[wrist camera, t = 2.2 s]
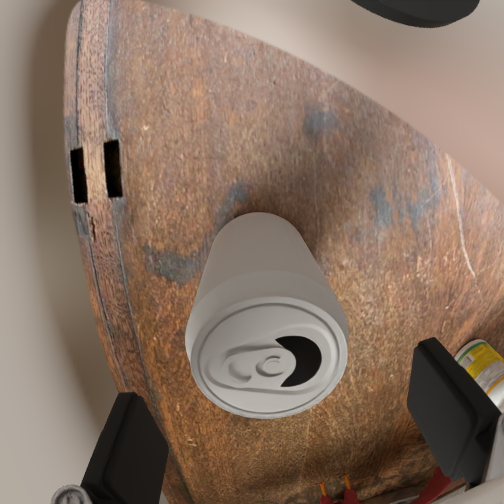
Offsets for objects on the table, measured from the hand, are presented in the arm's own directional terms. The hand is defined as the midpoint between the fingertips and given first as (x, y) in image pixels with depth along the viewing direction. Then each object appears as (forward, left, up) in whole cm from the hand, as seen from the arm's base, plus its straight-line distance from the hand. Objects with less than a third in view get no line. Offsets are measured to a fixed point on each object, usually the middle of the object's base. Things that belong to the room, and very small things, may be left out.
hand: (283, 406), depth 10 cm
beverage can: (0, -1, -14) cm, 14 cm away
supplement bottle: (-19, +15, -14) cm, 28 cm away
